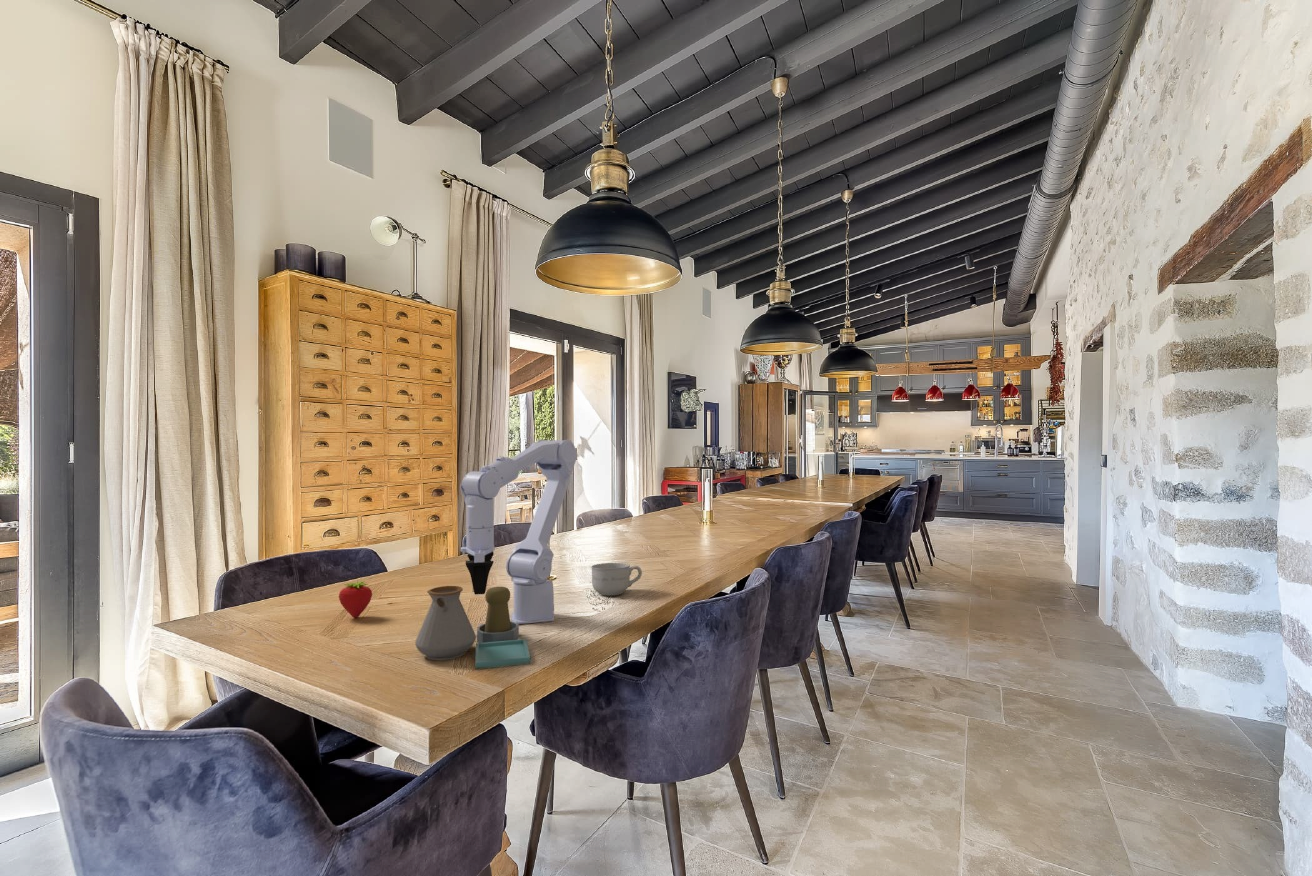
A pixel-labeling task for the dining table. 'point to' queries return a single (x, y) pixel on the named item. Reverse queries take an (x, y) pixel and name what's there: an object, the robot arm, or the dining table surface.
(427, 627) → the coffee pot
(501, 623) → the cork
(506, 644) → the tray
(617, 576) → the teacup
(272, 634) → the dining table surface
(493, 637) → the ring
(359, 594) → the strawberry
